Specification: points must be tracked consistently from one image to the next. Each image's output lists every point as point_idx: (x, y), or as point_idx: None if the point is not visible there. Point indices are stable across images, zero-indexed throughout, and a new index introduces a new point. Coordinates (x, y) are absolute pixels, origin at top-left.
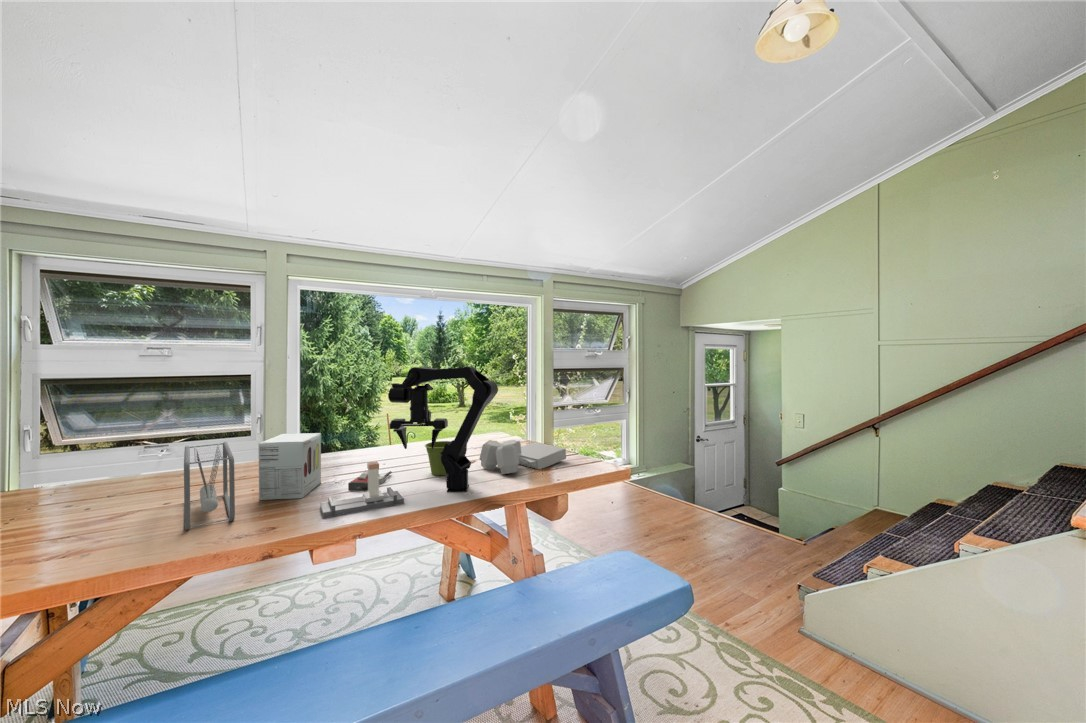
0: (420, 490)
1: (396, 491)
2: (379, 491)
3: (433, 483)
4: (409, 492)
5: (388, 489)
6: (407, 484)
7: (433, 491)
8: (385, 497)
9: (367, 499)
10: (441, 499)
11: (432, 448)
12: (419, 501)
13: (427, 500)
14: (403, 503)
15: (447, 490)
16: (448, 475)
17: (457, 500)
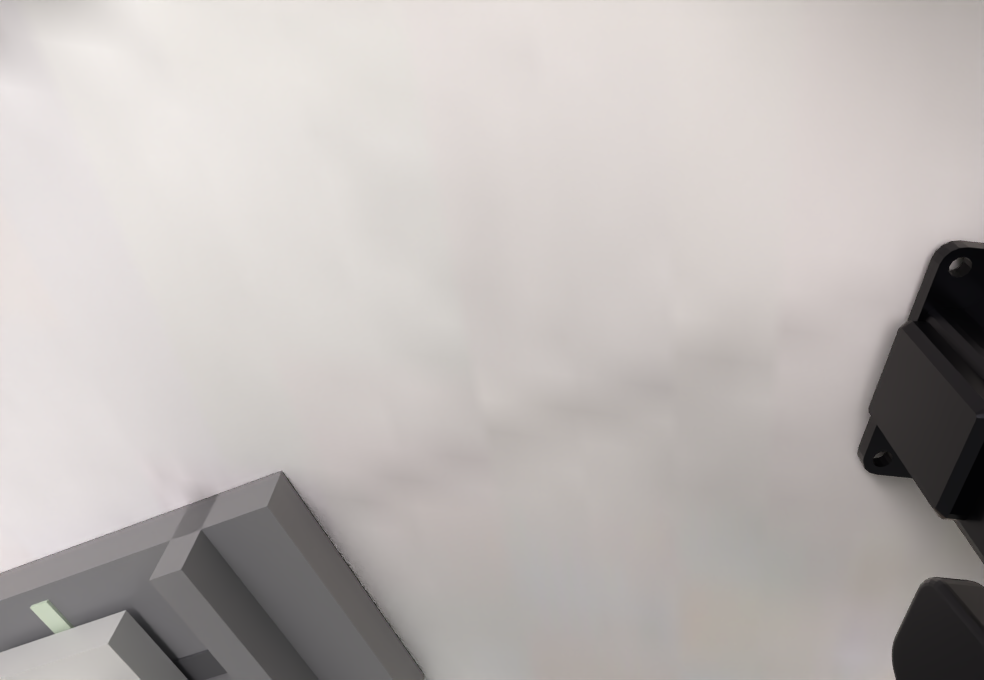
0: (523, 339)
1: (269, 527)
2: (123, 675)
3: (689, 31)
4: (398, 392)
5: (194, 633)
6: (269, 28)
7: (691, 397)
8: (223, 671)
9: None
10: (772, 629)
11: (916, 668)
12: (559, 646)
13: (634, 634)
14: (419, 678)
15: (868, 466)
16: (974, 549)
17: None
